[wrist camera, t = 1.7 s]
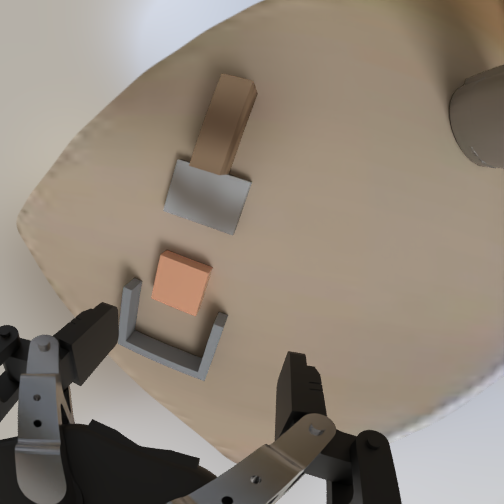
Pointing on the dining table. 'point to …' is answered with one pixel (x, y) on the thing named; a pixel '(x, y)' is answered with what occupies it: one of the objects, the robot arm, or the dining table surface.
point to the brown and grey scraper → (215, 161)
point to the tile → (180, 282)
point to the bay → (158, 349)
